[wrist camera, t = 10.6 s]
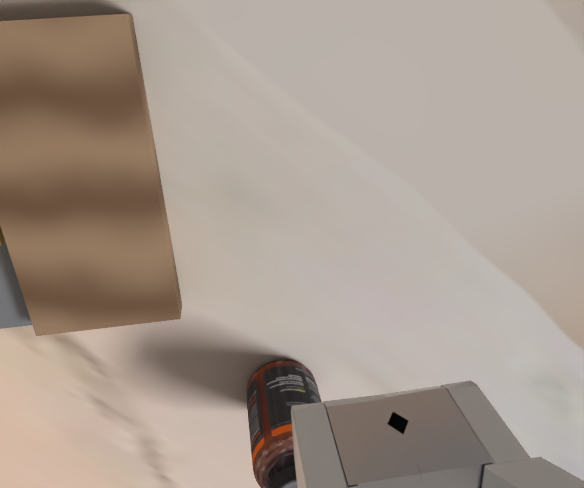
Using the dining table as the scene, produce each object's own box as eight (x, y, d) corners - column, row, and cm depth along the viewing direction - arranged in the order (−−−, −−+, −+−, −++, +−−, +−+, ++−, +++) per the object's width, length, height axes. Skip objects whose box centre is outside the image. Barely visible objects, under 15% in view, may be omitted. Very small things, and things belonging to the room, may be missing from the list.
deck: (-47, 24, 28) (-65, 24, 26) (132, 14, 29) (126, 13, 27) (45, 320, 36) (36, 335, 35) (182, 304, 37) (180, 318, 36)
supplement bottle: (256, 420, 43) (267, 544, 33) (237, 368, 40) (243, 484, 30) (322, 402, 43) (353, 519, 33) (307, 348, 41) (337, 458, 30)
